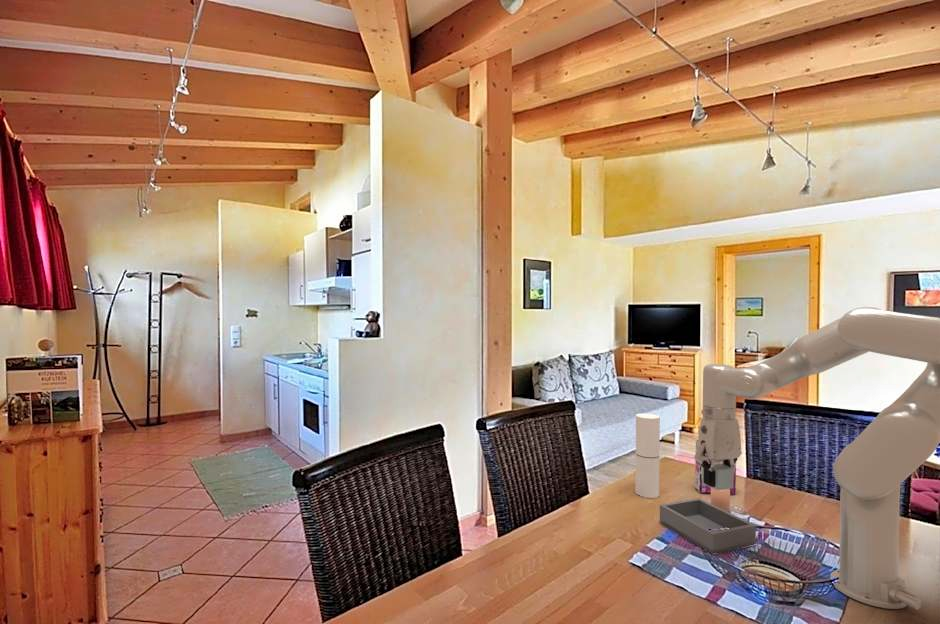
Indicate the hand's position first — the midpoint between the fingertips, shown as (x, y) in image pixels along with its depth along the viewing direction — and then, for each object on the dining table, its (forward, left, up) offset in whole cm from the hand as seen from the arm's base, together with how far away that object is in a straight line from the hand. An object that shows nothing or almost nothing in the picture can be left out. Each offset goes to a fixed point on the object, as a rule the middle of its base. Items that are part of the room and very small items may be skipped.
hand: (717, 483), depth 121 cm
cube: (0, 0, -1) cm, 1 cm away
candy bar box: (+25, -26, -15) cm, 39 cm away
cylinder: (+13, -15, -15) cm, 25 cm away
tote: (+4, 0, -15) cm, 15 cm away
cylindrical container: (+31, -4, -15) cm, 35 cm away
